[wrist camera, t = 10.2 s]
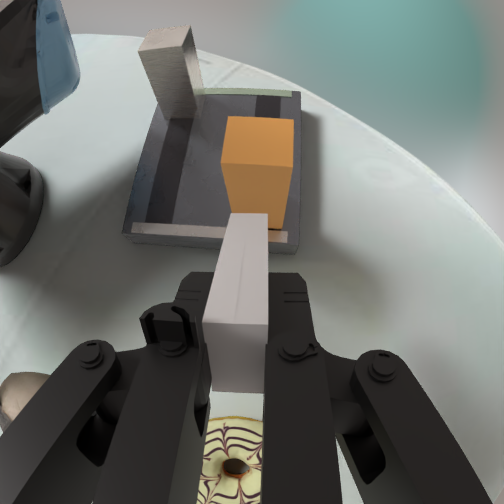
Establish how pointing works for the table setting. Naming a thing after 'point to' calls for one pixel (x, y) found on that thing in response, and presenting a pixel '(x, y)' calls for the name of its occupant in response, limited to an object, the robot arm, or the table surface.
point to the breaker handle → (258, 165)
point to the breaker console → (198, 151)
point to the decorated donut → (226, 447)
